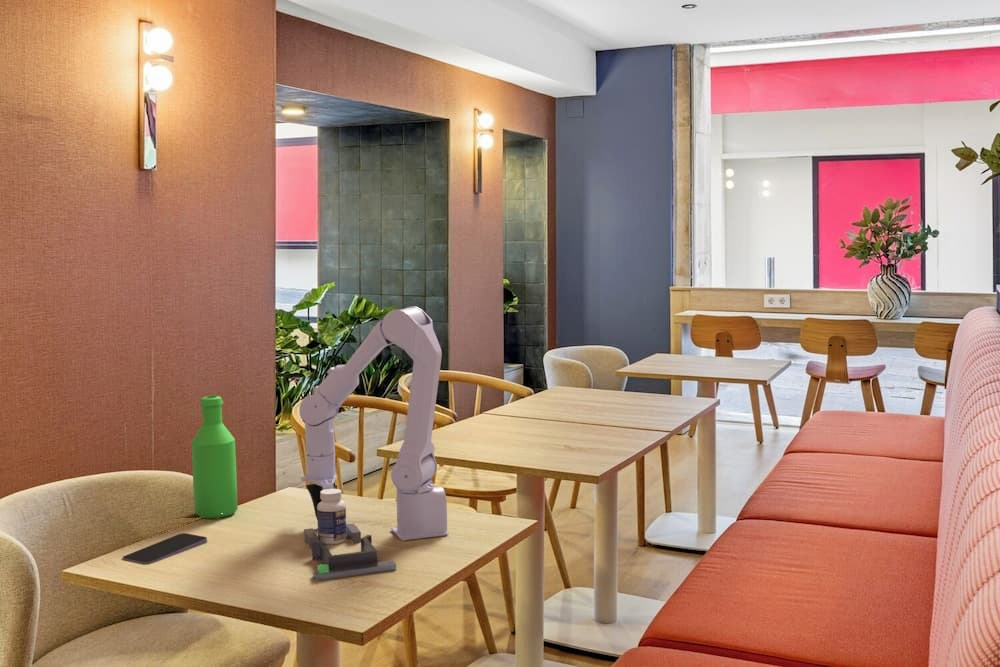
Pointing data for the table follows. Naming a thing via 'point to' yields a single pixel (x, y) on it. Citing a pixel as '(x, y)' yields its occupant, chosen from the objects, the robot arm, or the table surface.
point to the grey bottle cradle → (348, 561)
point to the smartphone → (165, 548)
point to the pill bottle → (331, 517)
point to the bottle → (214, 464)
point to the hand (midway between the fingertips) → (322, 520)
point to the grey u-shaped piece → (351, 532)
